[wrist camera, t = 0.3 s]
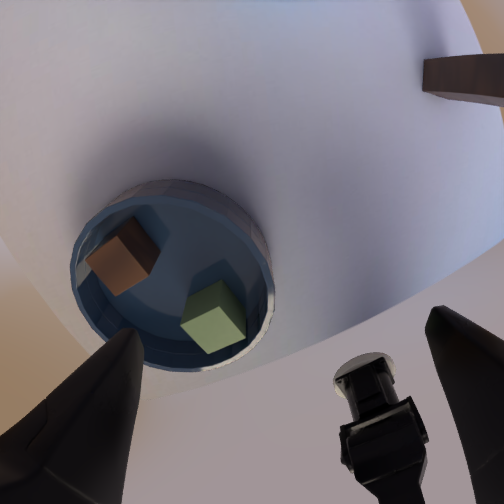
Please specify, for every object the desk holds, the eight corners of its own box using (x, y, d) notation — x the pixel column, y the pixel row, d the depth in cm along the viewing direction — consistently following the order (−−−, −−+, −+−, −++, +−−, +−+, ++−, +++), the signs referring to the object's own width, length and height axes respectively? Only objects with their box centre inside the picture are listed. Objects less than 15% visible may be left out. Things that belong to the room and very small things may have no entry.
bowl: (303, 297, 29) (311, 327, 25) (166, 359, 33) (158, 389, 29) (199, 138, 22) (188, 145, 18) (61, 245, 26) (38, 268, 22)
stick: (448, 99, 20) (585, 128, 7) (421, 91, 20) (564, 110, 7) (450, 69, 19) (585, 79, 6) (423, 59, 19) (563, 55, 5)
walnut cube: (161, 251, 26) (149, 276, 22) (129, 272, 27) (115, 297, 23) (133, 215, 24) (116, 235, 21) (102, 238, 25) (84, 260, 22)
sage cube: (246, 309, 29) (246, 337, 25) (211, 325, 30) (207, 354, 26) (222, 278, 27) (218, 306, 24) (186, 297, 28) (179, 325, 25)
